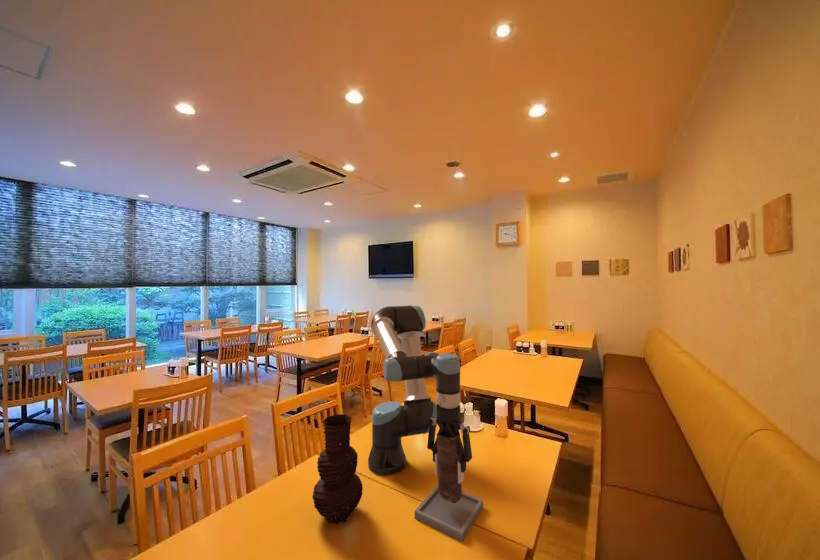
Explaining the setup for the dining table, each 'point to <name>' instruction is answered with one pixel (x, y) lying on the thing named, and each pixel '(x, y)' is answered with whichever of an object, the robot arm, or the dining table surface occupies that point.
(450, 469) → the brown cylinder
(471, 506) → the tray
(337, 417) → the vase
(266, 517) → the dining table surface
